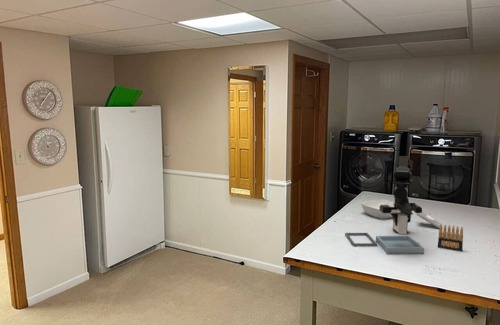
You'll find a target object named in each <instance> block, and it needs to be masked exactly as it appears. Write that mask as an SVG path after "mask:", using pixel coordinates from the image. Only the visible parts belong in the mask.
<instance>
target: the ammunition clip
mask: <svg viewBox="0 0 500 325" xmlns="http://www.w3.org/2000/svg"><path fill="white" fill-rule="evenodd" d="M438 229H439V228H438ZM463 244H464V227H463V226H461V227H460V228H459V226H458V225H457V226H456V228H455V225H453V226H452V228H451V225H450V224H449V225H448V226H447V224H444V226H443V224H442V223H441V225H440V229H439V231H438V241H437V249H444V250H450V251H455V252H463Z"/></svg>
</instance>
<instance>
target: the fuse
mask: <svg viewBox="0 0 500 325" xmlns="http://www.w3.org/2000/svg"><path fill="white" fill-rule="evenodd" d="M397 213H398V215H397V226H395V223H394V220H393V219H392V230H393V229H395V230H396V231H397V232H398V233H397V234H399V235H407V234H408V233H407V231H408V227H407V215H405V214H402V213H401V212H400V211H397Z"/></svg>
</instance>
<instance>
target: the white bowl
mask: <svg viewBox="0 0 500 325" xmlns="http://www.w3.org/2000/svg"><path fill="white" fill-rule="evenodd" d="M394 203H395V201H392V200H391V201H390V200H387V199H372V200H367V201H363V202H361V208H362V210H363V212H365V213H366V214H367V215H369V216H371V217H374V218H377V219H378V220H386V219H391V218H392V219H393V217H392V215H391V214H390V213H382V212H381V211H380V210H379V207H380V205H389V206H390V207H394V206H393V205H394Z"/></svg>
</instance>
